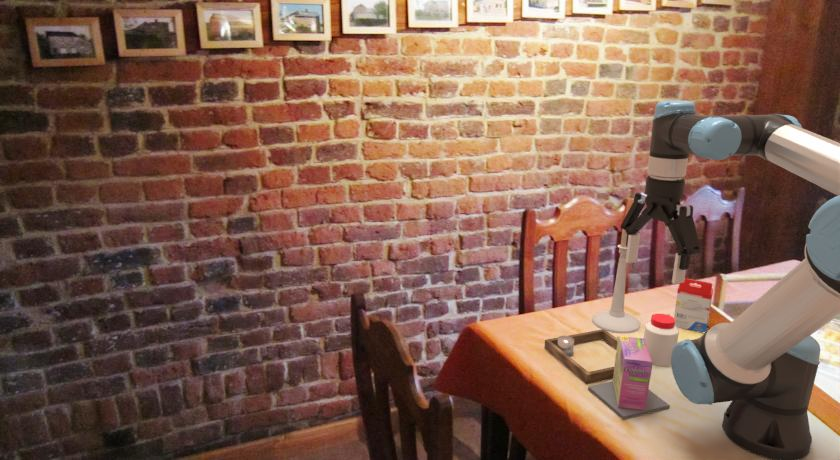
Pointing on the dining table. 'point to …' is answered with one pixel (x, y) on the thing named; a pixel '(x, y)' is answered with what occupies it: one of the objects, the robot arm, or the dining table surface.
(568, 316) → the dining table surface
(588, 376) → the wooden tray
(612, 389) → the coaster
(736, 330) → the robot arm
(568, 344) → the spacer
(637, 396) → the box
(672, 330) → the pill bottle
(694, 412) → the dining table surface
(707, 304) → the ink box
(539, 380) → the dining table surface
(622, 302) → the candlestick
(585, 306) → the dining table surface
